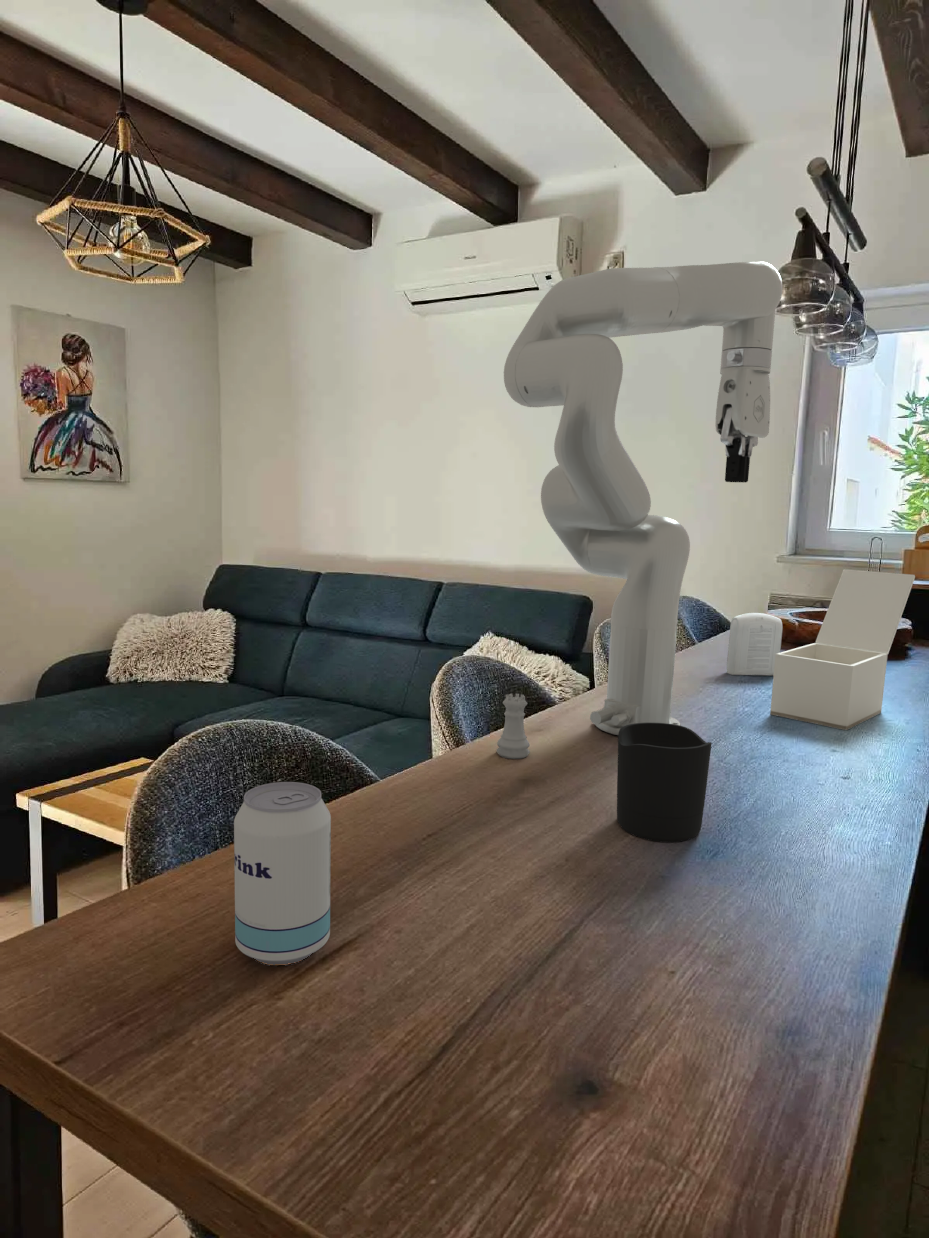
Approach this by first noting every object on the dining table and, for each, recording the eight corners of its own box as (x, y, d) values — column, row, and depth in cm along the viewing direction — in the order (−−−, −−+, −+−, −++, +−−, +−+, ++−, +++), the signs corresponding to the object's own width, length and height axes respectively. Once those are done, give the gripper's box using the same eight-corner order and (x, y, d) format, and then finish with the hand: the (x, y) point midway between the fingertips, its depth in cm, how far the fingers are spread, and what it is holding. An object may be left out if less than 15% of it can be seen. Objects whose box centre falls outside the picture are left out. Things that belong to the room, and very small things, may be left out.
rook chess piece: (490, 756, 110) (492, 696, 109) (504, 747, 114) (507, 690, 113) (521, 762, 108) (524, 701, 107) (535, 753, 112) (537, 694, 111)
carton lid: (914, 574, 143) (915, 576, 144) (843, 569, 151) (844, 571, 152) (887, 652, 138) (888, 654, 138) (815, 641, 146) (816, 643, 146)
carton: (846, 730, 128) (853, 666, 126) (770, 714, 136) (775, 653, 134) (881, 712, 139) (887, 653, 138) (808, 698, 147) (814, 643, 146)
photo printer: (770, 672, 170) (776, 611, 168) (781, 676, 165) (787, 614, 164) (722, 672, 168) (727, 611, 166) (732, 676, 164) (737, 614, 162)
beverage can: (218, 945, 63) (215, 792, 61) (296, 915, 68) (296, 772, 66) (267, 986, 58) (266, 821, 56) (348, 950, 63) (350, 797, 61)
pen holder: (714, 822, 90) (721, 732, 88) (690, 853, 82) (697, 754, 80) (630, 803, 95) (636, 717, 93) (599, 831, 87) (605, 737, 85)
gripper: (747, 355, 124) (737, 481, 126) (788, 368, 134) (778, 484, 137) (700, 359, 129) (692, 480, 131) (744, 371, 139) (735, 483, 142)
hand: (736, 481), depth 134 cm, fingers closed
